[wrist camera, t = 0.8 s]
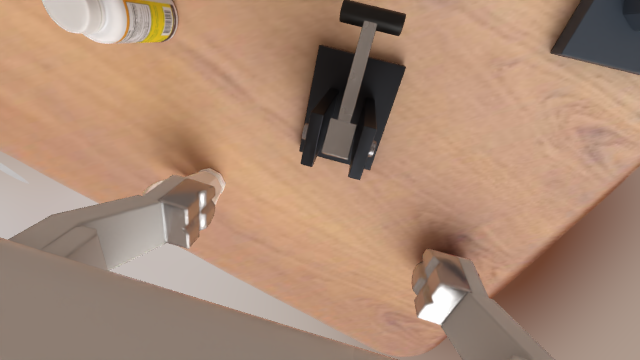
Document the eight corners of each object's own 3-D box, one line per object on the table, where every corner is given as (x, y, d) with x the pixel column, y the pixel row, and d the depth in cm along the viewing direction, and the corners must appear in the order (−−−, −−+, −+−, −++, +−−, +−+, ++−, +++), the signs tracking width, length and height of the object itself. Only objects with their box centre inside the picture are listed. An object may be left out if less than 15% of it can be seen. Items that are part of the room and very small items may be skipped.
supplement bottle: (123, -6, 29) (13, -25, 20) (163, -27, 27) (62, -58, 18) (151, 49, 31) (63, 53, 22) (189, 33, 30) (112, 30, 21)
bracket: (321, 44, 28) (292, 48, 18) (404, 65, 28) (425, 82, 17) (301, 147, 34) (271, 195, 24) (369, 166, 33) (369, 223, 23)
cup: (235, 205, 40) (207, 240, 33) (174, 194, 41) (134, 226, 34) (232, 163, 37) (199, 192, 30) (165, 152, 38) (118, 178, 31)
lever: (343, 9, 22) (344, -10, 20) (401, 23, 22) (409, 6, 20) (307, 149, 23) (303, 147, 21) (362, 163, 23) (365, 164, 21)
